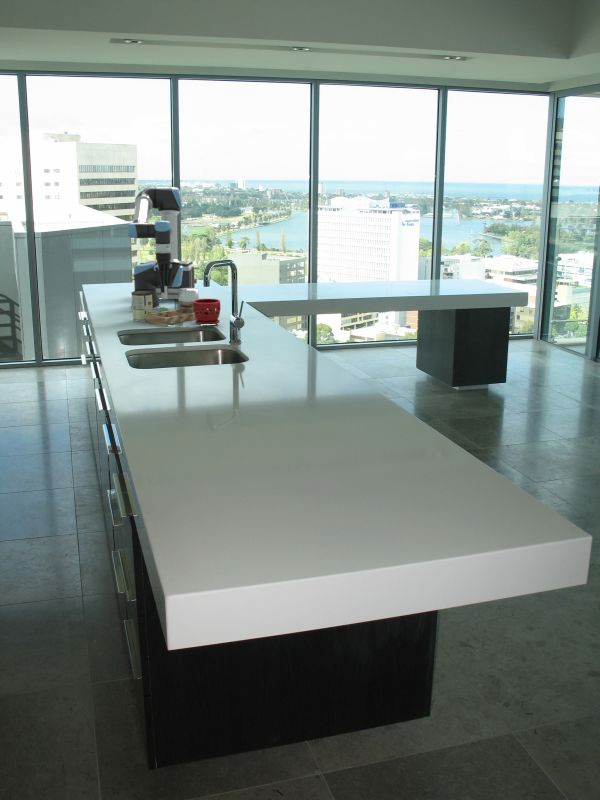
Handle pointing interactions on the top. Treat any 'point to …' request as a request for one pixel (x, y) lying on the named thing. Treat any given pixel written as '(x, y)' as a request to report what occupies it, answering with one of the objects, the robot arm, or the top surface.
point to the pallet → (168, 317)
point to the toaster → (187, 279)
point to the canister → (187, 299)
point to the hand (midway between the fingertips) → (164, 298)
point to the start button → (164, 309)
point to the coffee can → (141, 304)
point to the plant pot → (206, 311)
